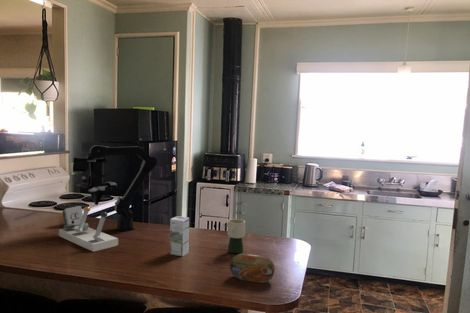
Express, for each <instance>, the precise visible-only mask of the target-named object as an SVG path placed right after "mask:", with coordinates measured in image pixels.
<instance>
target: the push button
mask: <svg viewBox="0 0 470 313" xmlns="http://www.w3.org/2000/svg"><path fill="white" fill-rule="evenodd" d="M88 227H89V223H87V222H85V224H84V227H83V230H84V229H88Z"/></svg>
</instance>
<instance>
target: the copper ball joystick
mask: <svg viewBox="0 0 470 313" xmlns="http://www.w3.org/2000/svg"><path fill="white" fill-rule="evenodd" d="M90 211H91V207H90V206H88V205H87V206H84V207H83V212H82V213H83V216H82V219H81V222H80V224H79V225H78V226H79V227H78V229H77V230H76V231H77V232H79V233H83V227H84V224H85V223H86V220H87V218H88V214H89V212H90Z"/></svg>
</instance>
